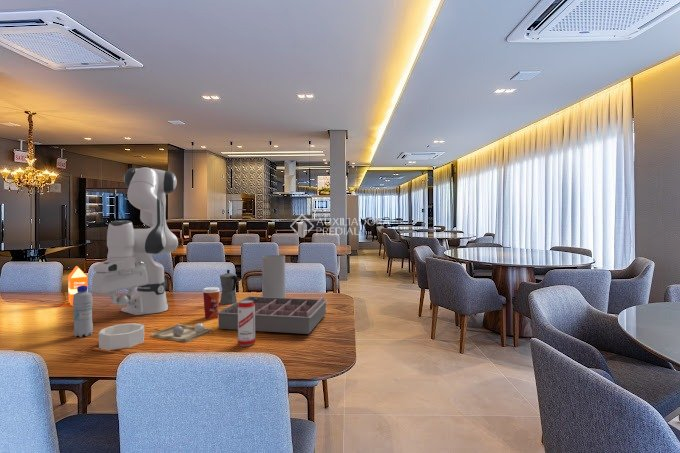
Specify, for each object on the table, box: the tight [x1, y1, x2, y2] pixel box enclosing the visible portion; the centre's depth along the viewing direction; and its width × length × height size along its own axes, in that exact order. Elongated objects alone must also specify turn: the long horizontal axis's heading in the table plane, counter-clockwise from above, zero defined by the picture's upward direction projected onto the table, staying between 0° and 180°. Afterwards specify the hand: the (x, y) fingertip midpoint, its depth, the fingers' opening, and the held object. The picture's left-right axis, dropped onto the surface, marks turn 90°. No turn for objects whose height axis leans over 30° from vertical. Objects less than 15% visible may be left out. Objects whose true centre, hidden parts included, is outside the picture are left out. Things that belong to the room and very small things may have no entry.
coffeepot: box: [219, 269, 238, 305], centre depth 204 cm, size 15×9×18 cm, turn 43°
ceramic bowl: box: [98, 322, 145, 351], centre depth 140 cm, size 14×14×6 cm
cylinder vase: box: [261, 254, 286, 298], centre depth 209 cm, size 12×12×25 cm
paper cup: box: [202, 286, 221, 320], centre depth 174 cm, size 8×8×14 cm
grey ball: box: [173, 326, 184, 337], centre depth 146 cm, size 4×4×4 cm
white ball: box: [194, 322, 206, 334], centre depth 150 cm, size 4×4×4 cm
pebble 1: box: [116, 294, 128, 307], centre depth 139 cm, size 4×4×4 cm
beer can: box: [237, 299, 256, 347], centre depth 139 cm, size 6×6×16 cm
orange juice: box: [67, 265, 89, 306], centre depth 204 cm, size 8×9×20 cm
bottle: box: [72, 285, 94, 338], centre depth 149 cm, size 7×7×20 cm
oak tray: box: [150, 323, 213, 343], centre depth 150 cm, size 18×14×2 cm
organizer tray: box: [216, 295, 328, 335], centre depth 166 cm, size 32×40×10 cm
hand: (122, 301), depth 139 cm, fingers closed on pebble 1, 4 cm apart
